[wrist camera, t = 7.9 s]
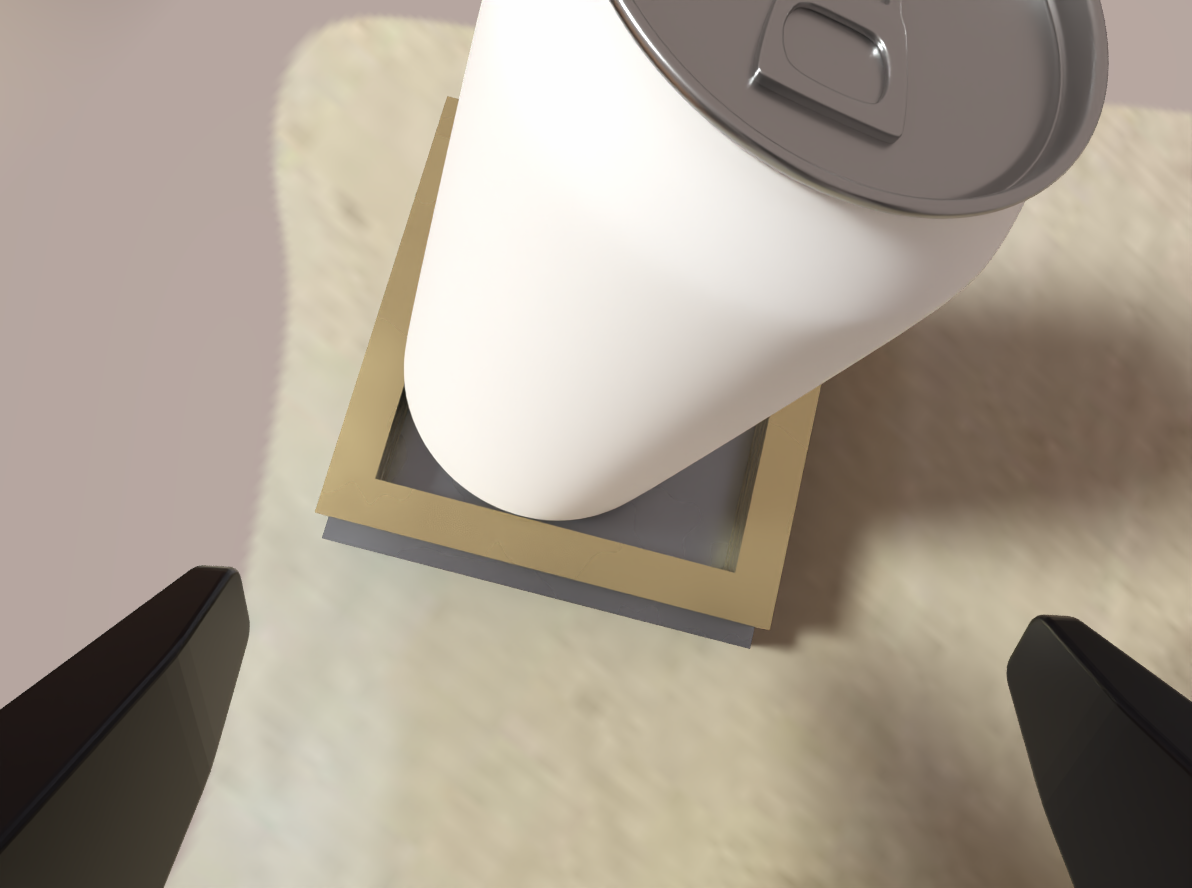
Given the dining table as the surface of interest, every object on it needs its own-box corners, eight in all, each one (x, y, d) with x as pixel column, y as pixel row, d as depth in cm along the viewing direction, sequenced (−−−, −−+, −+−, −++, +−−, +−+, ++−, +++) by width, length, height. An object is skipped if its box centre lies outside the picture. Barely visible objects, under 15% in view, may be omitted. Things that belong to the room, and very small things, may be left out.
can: (702, 312, 20) (1145, -134, 9) (648, 562, 18) (1149, 367, 7) (450, 214, 19) (620, -443, 8) (358, 472, 17) (415, 55, 6)
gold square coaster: (733, 643, 20) (764, 653, 17) (337, 541, 20) (307, 535, 17) (822, 238, 22) (861, 191, 19) (462, 138, 22) (453, 77, 19)
